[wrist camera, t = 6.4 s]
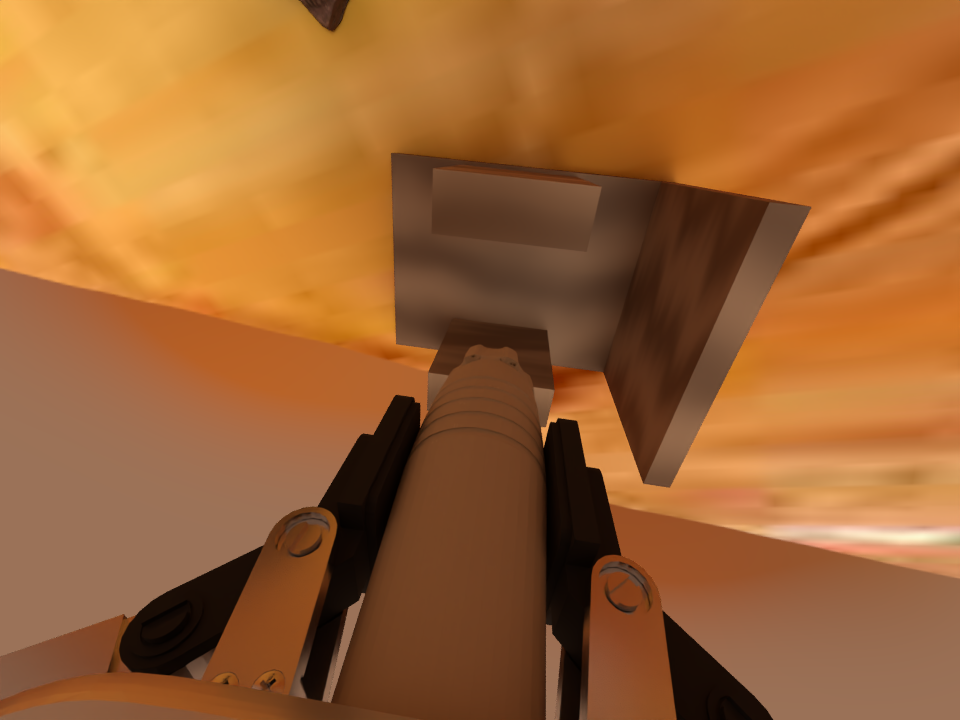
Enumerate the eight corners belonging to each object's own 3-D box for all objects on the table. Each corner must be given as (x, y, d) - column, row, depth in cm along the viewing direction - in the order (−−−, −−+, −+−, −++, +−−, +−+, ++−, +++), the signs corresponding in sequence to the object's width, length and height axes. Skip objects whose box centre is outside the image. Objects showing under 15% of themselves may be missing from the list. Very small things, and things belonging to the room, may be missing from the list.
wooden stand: (397, 153, 27) (290, 150, 14) (676, 182, 26) (811, 206, 13) (401, 337, 34) (331, 437, 22) (617, 365, 33) (669, 487, 21)
